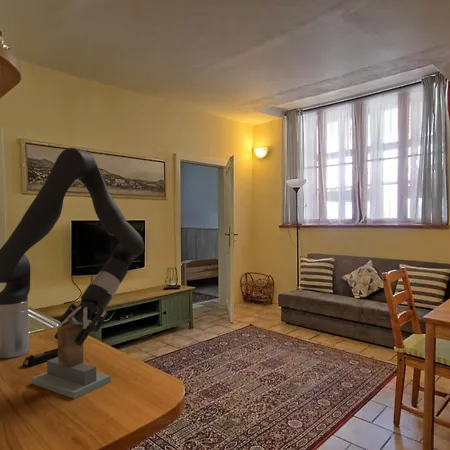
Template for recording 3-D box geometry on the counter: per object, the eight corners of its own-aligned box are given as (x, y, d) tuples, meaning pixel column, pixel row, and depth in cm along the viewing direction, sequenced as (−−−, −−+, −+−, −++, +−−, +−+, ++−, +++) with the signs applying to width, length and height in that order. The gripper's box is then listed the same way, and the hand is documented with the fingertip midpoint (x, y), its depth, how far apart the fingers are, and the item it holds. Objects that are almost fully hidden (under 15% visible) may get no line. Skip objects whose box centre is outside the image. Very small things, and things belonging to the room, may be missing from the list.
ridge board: (31, 383, 97) (31, 364, 97) (68, 369, 106) (68, 351, 106) (74, 398, 87) (73, 378, 87) (110, 381, 96) (110, 362, 96)
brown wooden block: (58, 365, 96) (57, 327, 96) (73, 359, 100) (72, 323, 100) (68, 368, 94) (67, 329, 94) (83, 362, 97) (82, 325, 97)
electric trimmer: (76, 354, 120) (75, 344, 120) (27, 369, 108) (27, 358, 108) (69, 352, 122) (69, 342, 122) (21, 366, 110) (21, 356, 110)
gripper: (77, 281, 107) (41, 330, 97) (110, 284, 99) (74, 338, 90) (93, 296, 111) (60, 344, 102) (125, 300, 104) (93, 352, 94)
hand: (66, 341), depth 96 cm, fingers open, 8 cm apart
